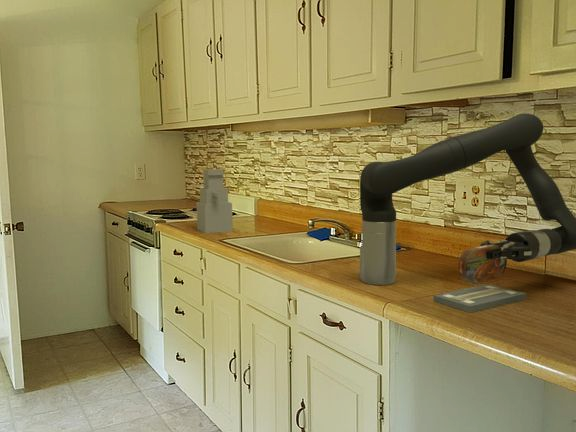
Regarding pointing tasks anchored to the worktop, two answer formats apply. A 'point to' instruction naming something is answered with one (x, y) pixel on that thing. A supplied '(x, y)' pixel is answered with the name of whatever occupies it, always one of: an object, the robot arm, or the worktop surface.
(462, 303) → the letter board
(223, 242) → the worktop surface
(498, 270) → the tin
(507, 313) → the worktop surface
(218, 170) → the stacked tiered boxes
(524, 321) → the worktop surface
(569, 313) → the worktop surface
